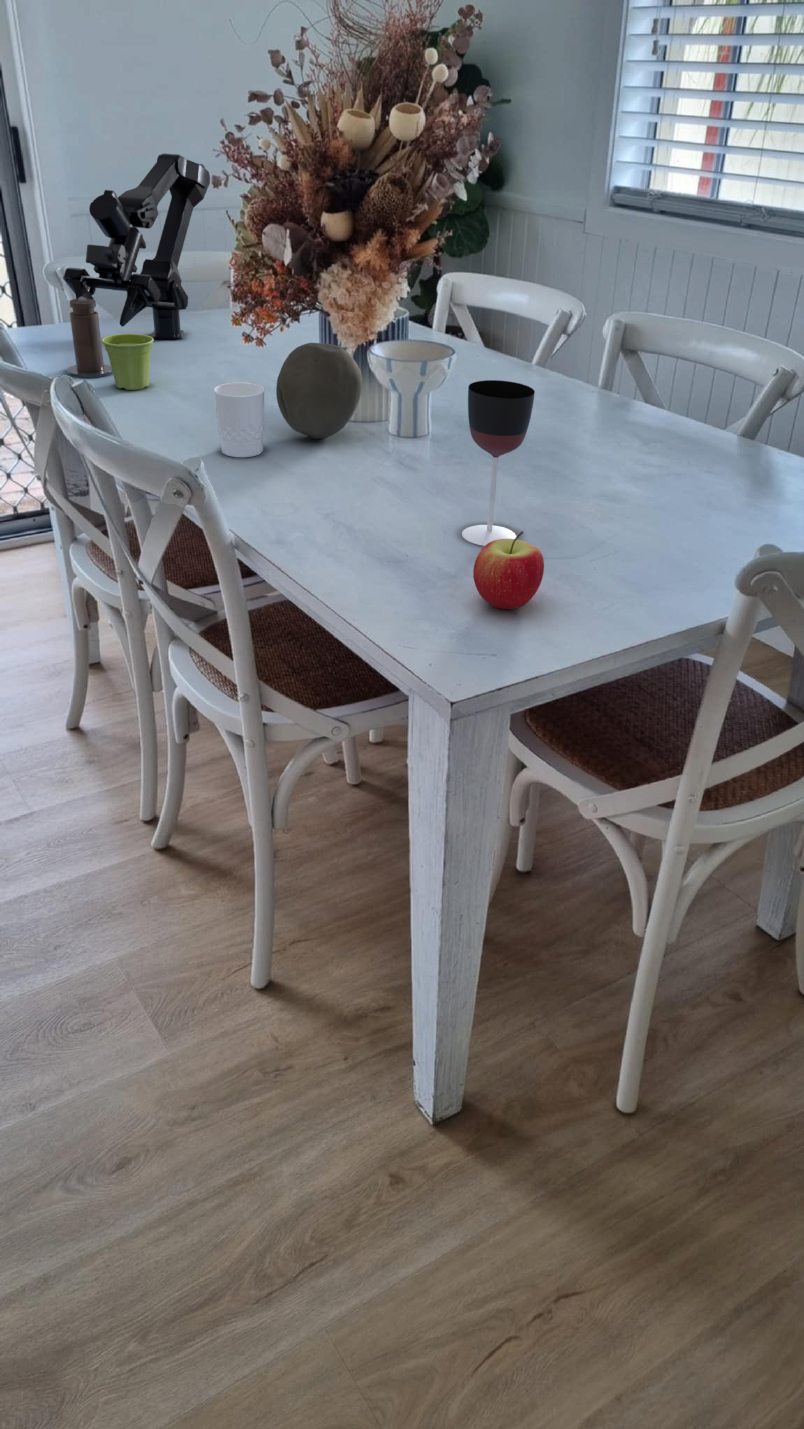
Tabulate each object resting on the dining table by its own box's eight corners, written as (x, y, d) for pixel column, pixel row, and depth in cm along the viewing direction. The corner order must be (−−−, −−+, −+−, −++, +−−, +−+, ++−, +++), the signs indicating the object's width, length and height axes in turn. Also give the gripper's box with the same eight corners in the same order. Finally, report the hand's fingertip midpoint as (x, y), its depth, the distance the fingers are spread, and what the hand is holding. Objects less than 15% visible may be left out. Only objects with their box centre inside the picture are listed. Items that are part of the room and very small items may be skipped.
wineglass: (480, 519, 151) (491, 376, 140) (531, 535, 146) (547, 390, 136) (446, 534, 146) (455, 388, 135) (498, 552, 141) (511, 402, 130)
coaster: (70, 366, 212) (70, 363, 212) (115, 366, 213) (115, 363, 213) (64, 378, 205) (63, 375, 204) (110, 378, 206) (110, 375, 205)
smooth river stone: (352, 451, 174) (353, 358, 166) (268, 444, 175) (265, 351, 167) (368, 426, 186) (369, 337, 177) (289, 419, 187) (287, 331, 179)
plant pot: (102, 381, 203) (96, 335, 199) (151, 377, 207) (146, 331, 202) (112, 395, 196) (107, 346, 192) (163, 390, 200) (159, 343, 195)
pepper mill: (93, 364, 212) (84, 292, 204) (109, 369, 209) (101, 297, 202) (71, 368, 208) (61, 296, 201) (87, 373, 205) (78, 300, 198)
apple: (501, 626, 123) (509, 546, 118) (456, 598, 129) (461, 521, 124) (554, 609, 128) (563, 531, 122) (508, 583, 133) (515, 507, 128)
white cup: (257, 461, 168) (255, 398, 163) (210, 456, 170) (206, 393, 164) (272, 445, 175) (270, 384, 170) (227, 441, 176) (223, 380, 171)
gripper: (61, 223, 206) (37, 293, 203) (147, 230, 202) (125, 302, 199) (87, 259, 217) (65, 327, 214) (170, 267, 213) (149, 336, 210)
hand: (100, 323), depth 209 cm, fingers open, 9 cm apart
